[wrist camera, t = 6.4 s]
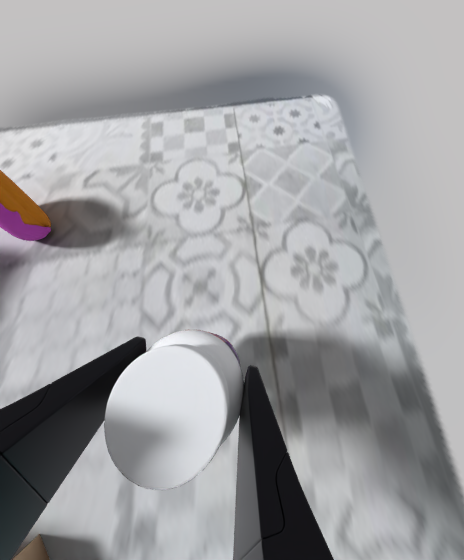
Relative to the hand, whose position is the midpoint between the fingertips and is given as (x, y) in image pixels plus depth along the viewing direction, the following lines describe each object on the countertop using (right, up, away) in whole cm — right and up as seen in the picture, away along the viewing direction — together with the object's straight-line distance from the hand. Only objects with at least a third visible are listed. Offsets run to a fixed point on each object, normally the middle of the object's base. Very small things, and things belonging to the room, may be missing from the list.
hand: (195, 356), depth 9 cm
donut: (-24, +11, +15) cm, 30 cm away
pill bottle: (0, -3, +6) cm, 7 cm away
